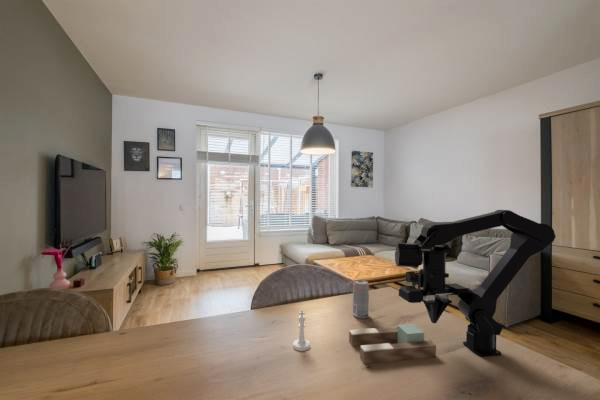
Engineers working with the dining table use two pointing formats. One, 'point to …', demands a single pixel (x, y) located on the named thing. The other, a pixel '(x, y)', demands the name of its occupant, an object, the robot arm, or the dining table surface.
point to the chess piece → (301, 335)
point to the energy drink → (360, 299)
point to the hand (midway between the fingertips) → (433, 322)
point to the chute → (388, 346)
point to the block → (409, 334)
